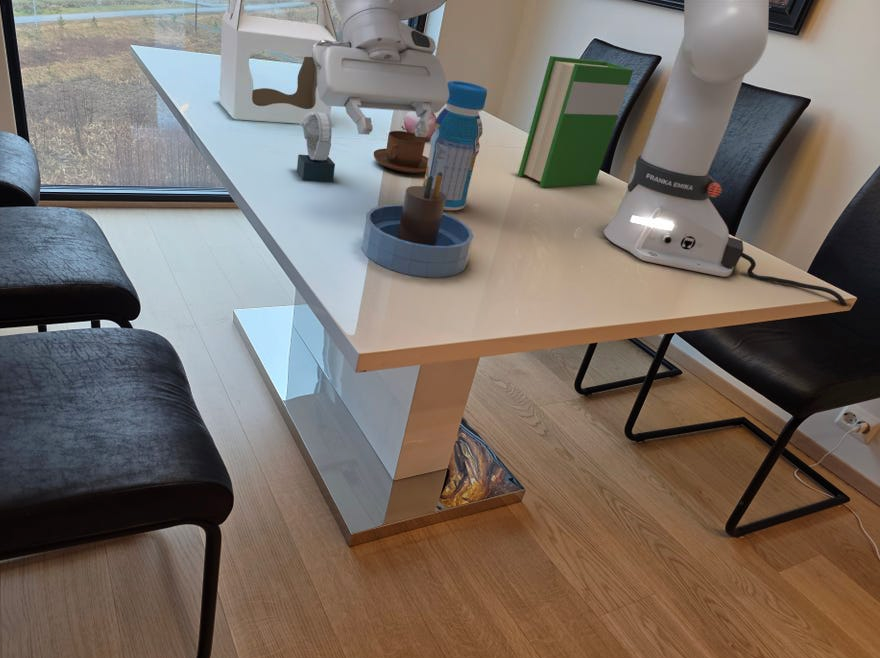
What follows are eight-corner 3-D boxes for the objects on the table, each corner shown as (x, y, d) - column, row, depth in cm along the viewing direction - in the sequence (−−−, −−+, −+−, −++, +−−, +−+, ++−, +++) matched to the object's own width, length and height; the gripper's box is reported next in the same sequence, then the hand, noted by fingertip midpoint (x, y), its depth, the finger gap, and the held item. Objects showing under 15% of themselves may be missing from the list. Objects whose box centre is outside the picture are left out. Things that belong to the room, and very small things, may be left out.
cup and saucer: (426, 182, 128) (433, 150, 125) (366, 168, 128) (371, 136, 125) (434, 166, 138) (440, 136, 135) (378, 153, 139) (383, 123, 135)
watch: (323, 169, 123) (330, 108, 117) (335, 185, 117) (343, 121, 111) (293, 168, 121) (299, 105, 115) (304, 183, 115) (311, 118, 109)
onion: (409, 141, 152) (414, 109, 148) (395, 131, 158) (400, 100, 154) (439, 143, 155) (446, 111, 152) (425, 133, 161) (431, 102, 157)
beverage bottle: (436, 213, 114) (462, 90, 103) (410, 195, 119) (432, 77, 109) (474, 211, 118) (503, 93, 108) (447, 193, 124) (472, 80, 113)
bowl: (473, 253, 101) (481, 222, 99) (452, 292, 88) (461, 257, 86) (379, 227, 103) (384, 196, 101) (345, 261, 91) (350, 227, 88)
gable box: (311, 110, 161) (324, -22, 146) (330, 126, 151) (346, -13, 137) (218, 103, 151) (222, -39, 136) (232, 119, 141) (238, -31, 127)
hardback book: (542, 187, 139) (578, 64, 126) (517, 175, 144) (550, 56, 131) (595, 183, 149) (633, 70, 136) (570, 172, 154) (605, 61, 141)
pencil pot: (437, 252, 98) (455, 169, 91) (427, 265, 93) (446, 179, 86) (401, 242, 98) (416, 159, 92) (390, 254, 94) (405, 168, 87)
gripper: (317, 24, 90) (337, 118, 88) (443, 40, 100) (464, 125, 98) (302, 52, 95) (320, 142, 94) (423, 65, 105) (442, 146, 104)
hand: (395, 133), depth 96 cm, fingers open, 8 cm apart
